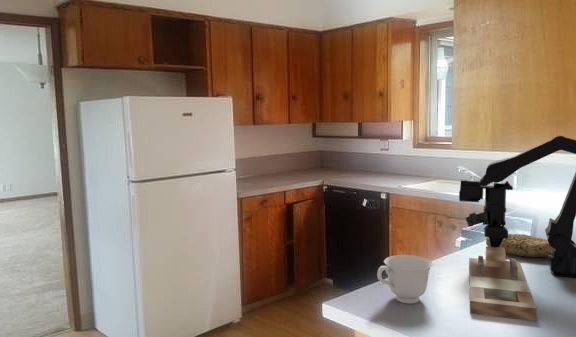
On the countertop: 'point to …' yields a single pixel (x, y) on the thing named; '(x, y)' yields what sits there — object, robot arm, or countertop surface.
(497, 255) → the maple block
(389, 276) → the teacup
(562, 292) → the countertop surface
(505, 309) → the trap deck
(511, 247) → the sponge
